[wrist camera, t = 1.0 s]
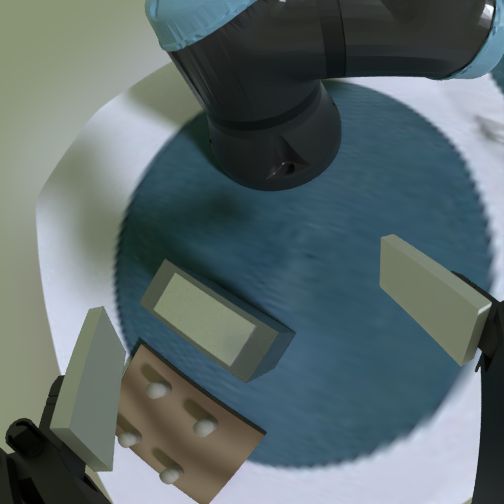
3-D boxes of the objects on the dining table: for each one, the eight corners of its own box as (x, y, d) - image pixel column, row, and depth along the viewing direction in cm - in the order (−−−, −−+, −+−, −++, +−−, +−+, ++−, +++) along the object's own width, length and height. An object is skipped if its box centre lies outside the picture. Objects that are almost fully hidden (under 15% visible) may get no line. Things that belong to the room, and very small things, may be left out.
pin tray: (146, 343, 32) (127, 343, 29) (266, 432, 27) (258, 443, 24) (105, 418, 31) (87, 423, 28) (208, 503, 26) (196, 517, 22)
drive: (213, 281, 32) (163, 257, 23) (296, 333, 29) (278, 332, 19) (193, 314, 32) (137, 303, 22) (274, 368, 29) (245, 383, 19)
